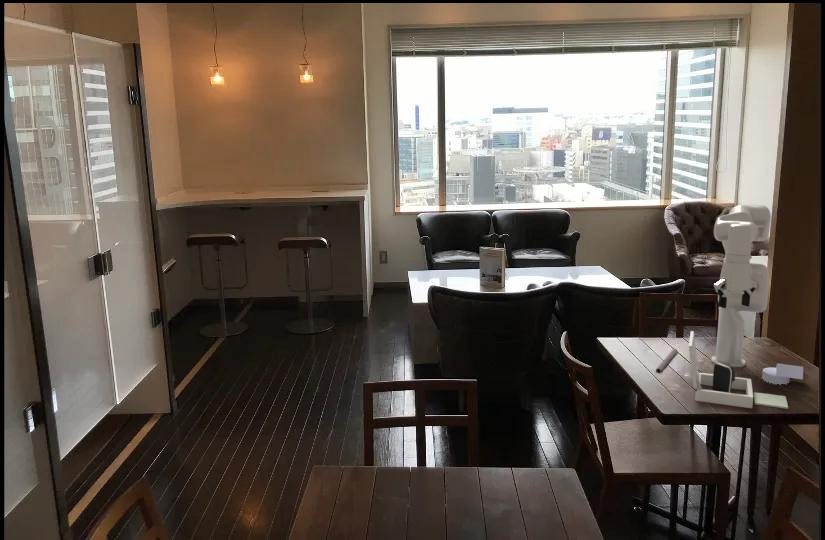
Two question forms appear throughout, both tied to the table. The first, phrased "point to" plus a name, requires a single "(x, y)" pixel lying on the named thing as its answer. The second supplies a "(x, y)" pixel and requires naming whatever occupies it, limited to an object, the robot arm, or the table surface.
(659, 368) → the metal rod
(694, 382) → the white bent frame
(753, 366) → the table surface
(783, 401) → the pad
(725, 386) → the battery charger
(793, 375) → the wedge on round base
